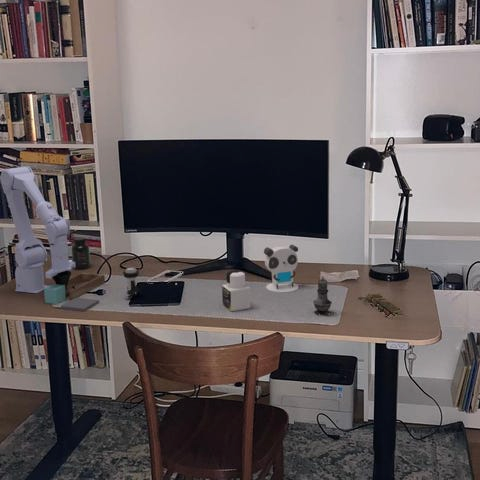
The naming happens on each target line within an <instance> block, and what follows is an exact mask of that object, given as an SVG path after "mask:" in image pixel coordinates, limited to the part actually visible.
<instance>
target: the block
mask: <svg viewBox="0 0 480 480" xmlns="http://www.w3.org/2000/svg"><path fill="white" fill-rule="evenodd" d="M48 286H49V287H47V288H44V290H43V292H44V302H45V304H53V305H57V303H58V304H60V303H61V301H62V302H63V301H65V300H67V296H66V294H67V291H66V292H65V285H58V284H56V283H53V284H51V285H48ZM59 302H60V303H59Z"/></svg>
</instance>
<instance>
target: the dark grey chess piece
mask: <svg viewBox="0 0 480 480" xmlns="http://www.w3.org/2000/svg"><path fill="white" fill-rule="evenodd" d="M316 292H317V298H316V299H315V300H313V305H314V308H315V309H316V310H315V311H313V314H314V313H315V314H314V315H316V314H318V315H317V316H319V314H320V315H327V316H329V315H328V314H329V313H331V311H330V309H331V305H332V303H333V302H332V300H330V299H329V298H328V292H329V289H328V281H327V280H326V279H325V278H324V276H322V277H321V279H319V280H318V281H317V289H316ZM331 314H332V313H331Z"/></svg>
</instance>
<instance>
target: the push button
mask: <svg viewBox="0 0 480 480" xmlns="http://www.w3.org/2000/svg"><path fill="white" fill-rule="evenodd" d="M139 273H140V270H138V269H137V268H136V267H127V268H125V270H124V271H122V274H123V277H124V278H125V279H126V280H127V287H126V288H127V290H126V291H125V293H126V295H125V297H126V298H125V300H128V299H129V300H132V299H131V297H132V296H133V295H134V293H135V294H136V293H137V292H138V291H139V292H140V290H139V288H138V287H137V285H136V282H137V281H136V278H137V277H138V276H139Z"/></svg>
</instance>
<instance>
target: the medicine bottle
mask: <svg viewBox="0 0 480 480" xmlns="http://www.w3.org/2000/svg"><path fill="white" fill-rule="evenodd" d="M221 286H222V287H221V290H222V291H221V292H222V293H221V295H222V296H221V297H222V306H223V307H224V308H226V309H227V310H228V311H229V312H235V311H242V310H247V309H251V287H249V286H248V285H246V273H245V271H242V270H237V269H235V270H229V271H228V272H227V273H226V284H222V285H221Z"/></svg>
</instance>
